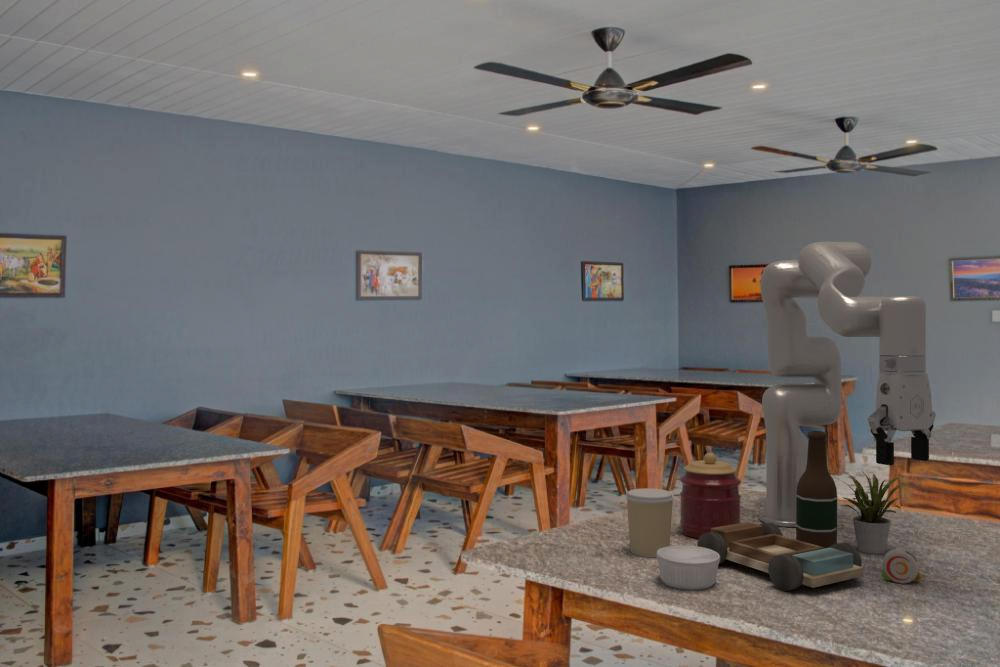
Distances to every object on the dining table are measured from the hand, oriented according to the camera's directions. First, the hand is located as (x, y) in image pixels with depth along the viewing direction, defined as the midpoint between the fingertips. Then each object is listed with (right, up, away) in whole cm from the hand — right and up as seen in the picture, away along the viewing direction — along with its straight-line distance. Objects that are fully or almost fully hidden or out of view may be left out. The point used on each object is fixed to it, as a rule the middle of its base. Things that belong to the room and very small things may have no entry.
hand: (902, 462), depth 157 cm
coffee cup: (-42, -21, +21) cm, 51 cm away
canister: (-26, -21, +36) cm, 49 cm away
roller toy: (0, -22, +1) cm, 22 cm away
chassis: (-20, -21, +8) cm, 30 cm away
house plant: (+5, -21, +21) cm, 30 cm away
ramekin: (-38, -22, +1) cm, 44 cm away
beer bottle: (-8, -21, +22) cm, 31 cm away
